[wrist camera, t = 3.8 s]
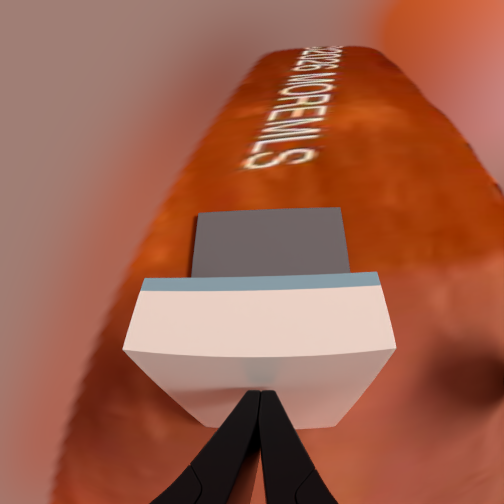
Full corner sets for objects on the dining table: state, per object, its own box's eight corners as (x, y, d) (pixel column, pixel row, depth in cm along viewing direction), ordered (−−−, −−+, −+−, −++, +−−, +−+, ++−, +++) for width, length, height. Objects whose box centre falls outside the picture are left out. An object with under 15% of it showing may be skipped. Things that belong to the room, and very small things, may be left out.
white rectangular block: (334, 426, 13) (396, 348, 6) (206, 427, 14) (122, 349, 7) (331, 386, 15) (376, 271, 8) (210, 387, 16) (144, 278, 9)
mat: (356, 371, 15) (358, 370, 15) (186, 373, 16) (184, 373, 16) (339, 210, 20) (340, 207, 20) (199, 216, 21) (198, 213, 21)
